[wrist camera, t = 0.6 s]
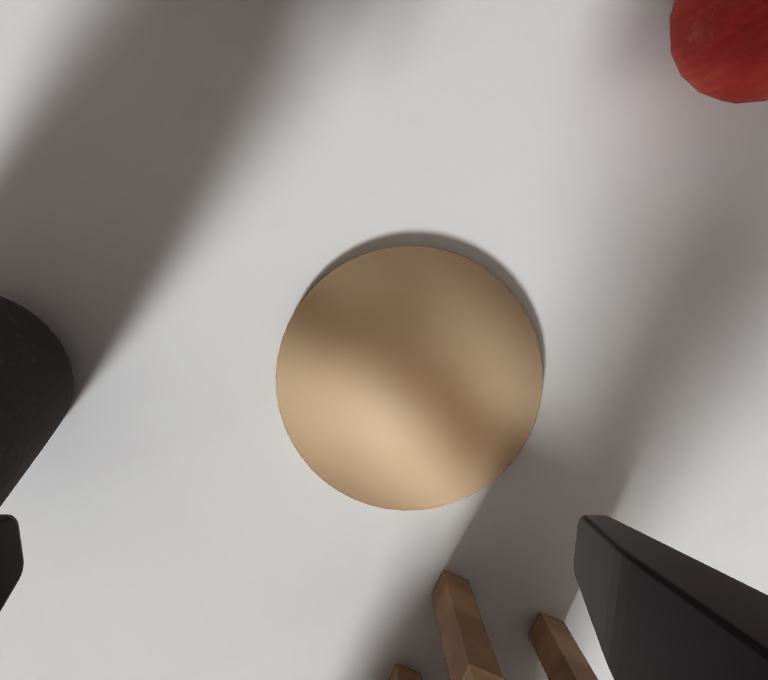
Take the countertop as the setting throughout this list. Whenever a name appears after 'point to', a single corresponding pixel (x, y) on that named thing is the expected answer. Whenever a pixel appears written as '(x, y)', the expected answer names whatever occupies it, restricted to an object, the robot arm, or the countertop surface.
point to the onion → (722, 47)
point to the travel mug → (28, 390)
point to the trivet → (409, 378)
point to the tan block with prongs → (472, 647)
